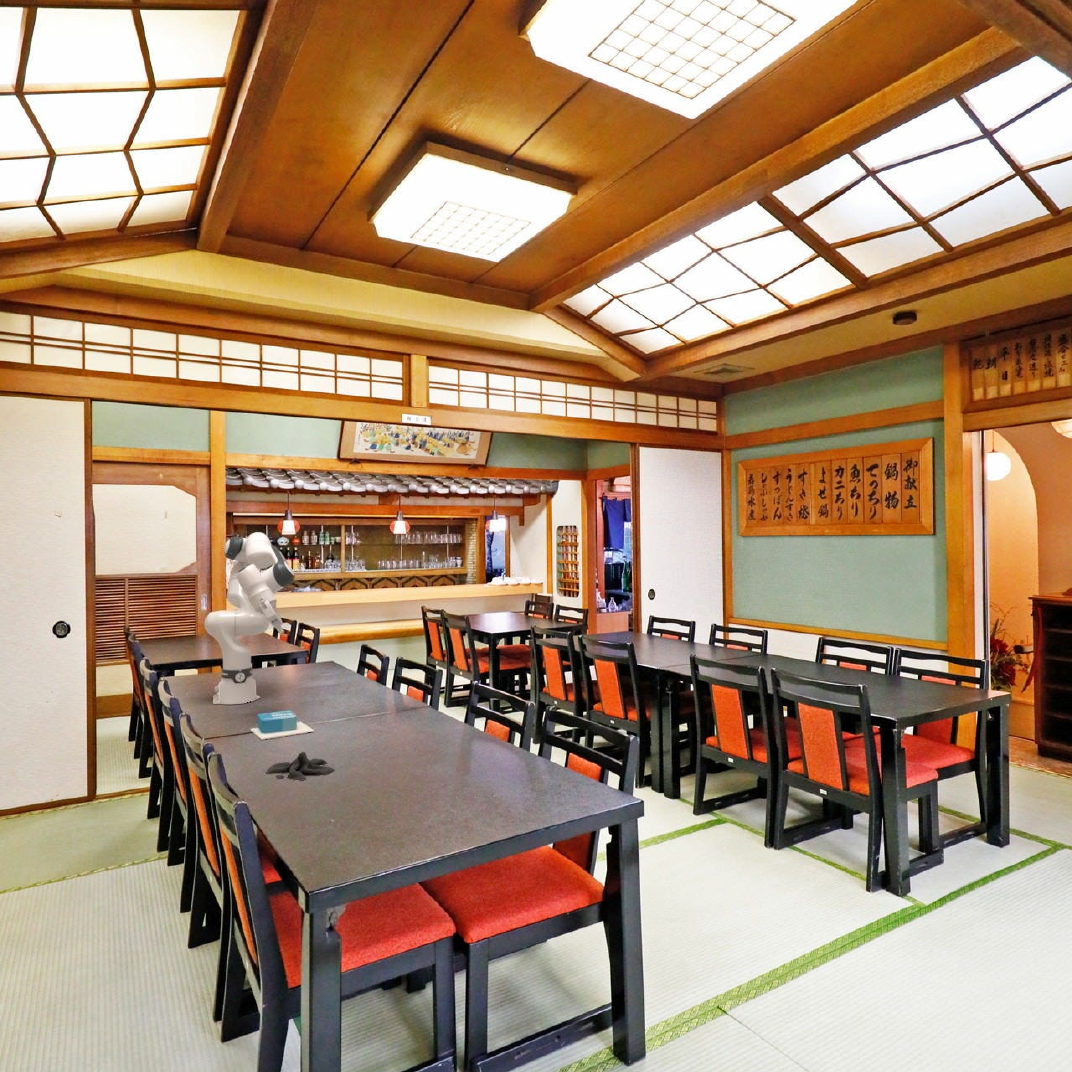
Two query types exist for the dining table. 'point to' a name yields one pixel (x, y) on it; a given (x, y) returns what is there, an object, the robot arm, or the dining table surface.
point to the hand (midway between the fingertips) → (282, 632)
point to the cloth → (300, 768)
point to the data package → (277, 721)
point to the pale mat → (282, 732)
